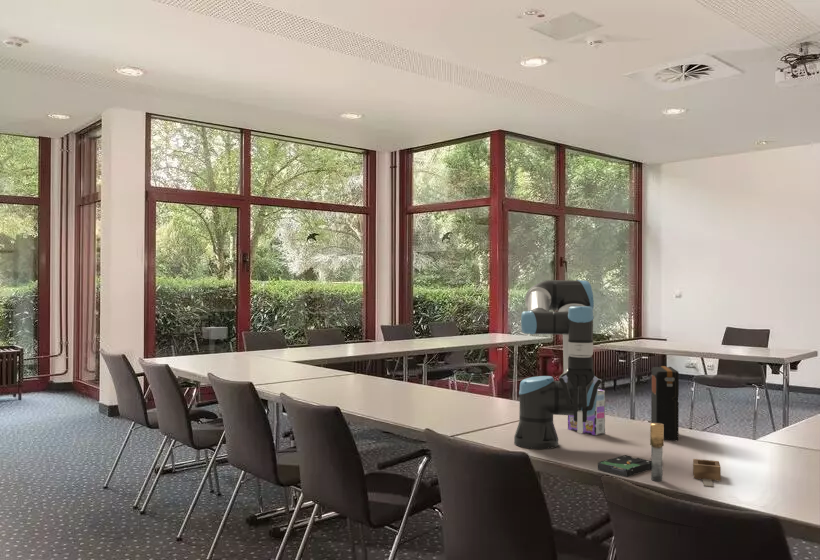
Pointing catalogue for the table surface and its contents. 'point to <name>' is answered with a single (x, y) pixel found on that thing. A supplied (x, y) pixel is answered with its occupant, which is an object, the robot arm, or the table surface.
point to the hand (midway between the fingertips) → (580, 432)
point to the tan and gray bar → (656, 450)
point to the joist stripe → (707, 482)
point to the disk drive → (625, 465)
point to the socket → (706, 469)
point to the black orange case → (665, 400)
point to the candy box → (592, 418)
